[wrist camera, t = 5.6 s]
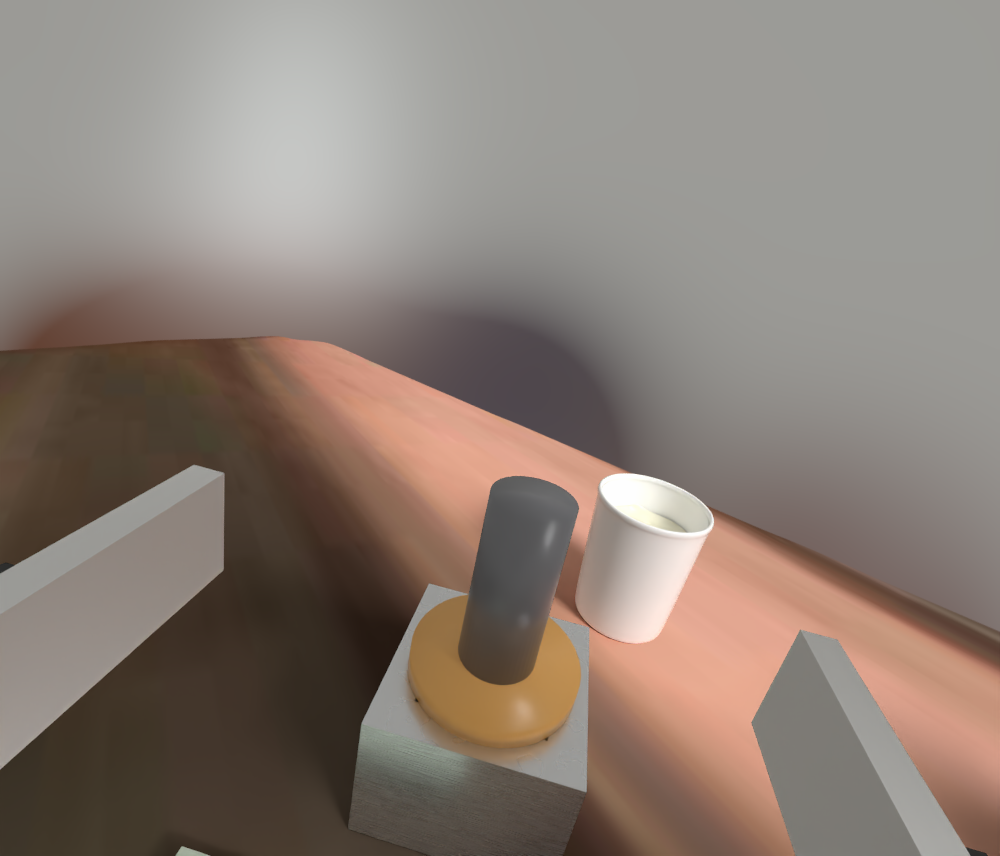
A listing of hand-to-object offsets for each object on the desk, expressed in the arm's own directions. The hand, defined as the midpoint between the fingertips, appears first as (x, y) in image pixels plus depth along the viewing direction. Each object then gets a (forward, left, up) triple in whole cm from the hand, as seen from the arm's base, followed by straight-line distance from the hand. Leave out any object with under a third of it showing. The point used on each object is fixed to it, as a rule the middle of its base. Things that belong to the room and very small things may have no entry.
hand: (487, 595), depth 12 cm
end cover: (-7, -11, -21) cm, 25 cm away
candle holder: (-25, -22, -24) cm, 41 cm away
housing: (-7, -11, -23) cm, 27 cm away
